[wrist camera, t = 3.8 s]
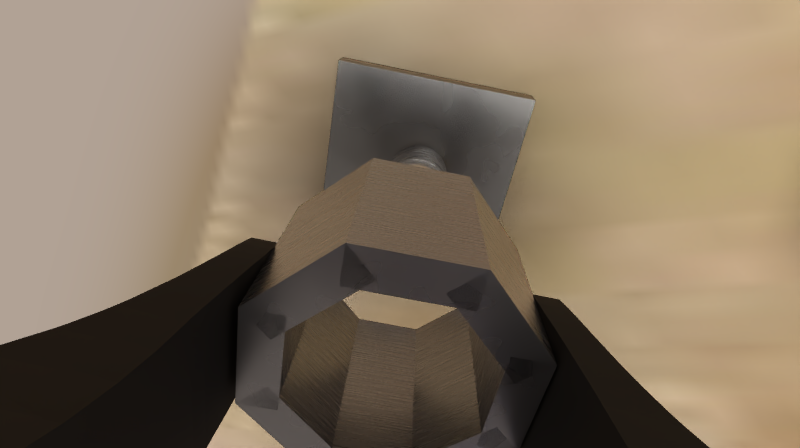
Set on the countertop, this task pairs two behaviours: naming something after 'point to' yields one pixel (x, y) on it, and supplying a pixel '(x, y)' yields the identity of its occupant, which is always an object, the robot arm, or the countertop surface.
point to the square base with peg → (426, 125)
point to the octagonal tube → (387, 344)
